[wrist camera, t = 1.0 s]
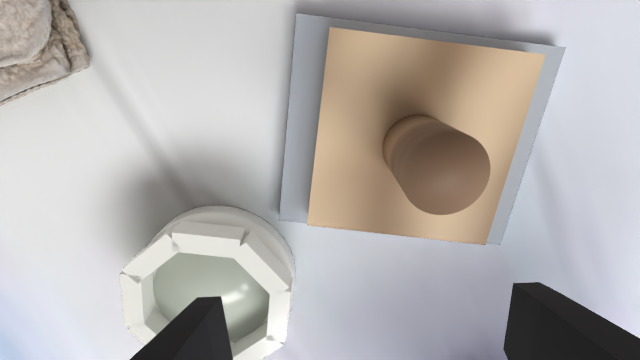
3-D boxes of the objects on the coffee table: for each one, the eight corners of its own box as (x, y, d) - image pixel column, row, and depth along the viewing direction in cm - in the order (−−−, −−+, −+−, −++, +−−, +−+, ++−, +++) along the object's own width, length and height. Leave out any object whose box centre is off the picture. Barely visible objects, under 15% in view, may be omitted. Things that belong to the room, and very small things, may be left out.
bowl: (302, 214, 18) (298, 244, 15) (289, 335, 21) (283, 380, 18) (147, 197, 18) (112, 224, 15) (154, 321, 21) (126, 365, 18)
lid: (529, 55, 15) (628, 51, 10) (475, 233, 18) (532, 297, 13) (329, 30, 15) (331, 13, 10) (307, 214, 18) (301, 272, 13)
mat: (556, 48, 15) (565, 47, 15) (494, 239, 19) (499, 244, 18) (297, 14, 15) (296, 13, 15) (280, 215, 18) (278, 220, 18)
